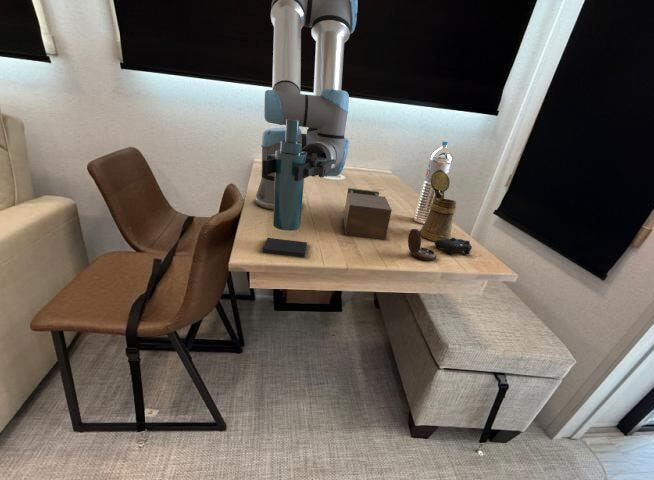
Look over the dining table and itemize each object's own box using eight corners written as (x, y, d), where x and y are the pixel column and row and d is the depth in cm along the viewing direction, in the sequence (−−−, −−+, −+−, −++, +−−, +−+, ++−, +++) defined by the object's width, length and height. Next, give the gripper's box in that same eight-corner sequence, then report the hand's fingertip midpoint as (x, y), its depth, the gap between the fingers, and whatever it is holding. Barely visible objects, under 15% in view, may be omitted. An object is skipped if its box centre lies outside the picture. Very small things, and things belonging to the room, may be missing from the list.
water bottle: (428, 226, 108) (453, 144, 95) (409, 220, 112) (431, 140, 98) (436, 222, 113) (460, 143, 100) (417, 216, 117) (438, 139, 103)
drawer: (344, 204, 117) (347, 184, 113) (373, 207, 117) (377, 188, 113) (346, 219, 102) (349, 197, 99) (379, 223, 103) (383, 201, 99)
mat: (267, 241, 83) (267, 237, 83) (306, 245, 83) (307, 242, 83) (262, 252, 77) (262, 248, 77) (304, 257, 78) (304, 253, 77)
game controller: (461, 242, 96) (475, 234, 90) (464, 259, 95) (478, 252, 89) (432, 241, 94) (444, 233, 88) (435, 259, 93) (447, 252, 87)
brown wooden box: (343, 219, 105) (347, 192, 100) (379, 223, 105) (385, 196, 101) (344, 234, 93) (349, 204, 89) (385, 239, 94) (391, 209, 89)
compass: (440, 261, 84) (449, 235, 80) (411, 260, 83) (419, 233, 79) (426, 248, 91) (434, 223, 87) (400, 247, 89) (406, 222, 86)
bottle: (275, 219, 80) (279, 117, 68) (301, 222, 80) (309, 121, 68) (271, 228, 74) (274, 118, 63) (299, 232, 74) (307, 123, 63)
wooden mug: (436, 227, 109) (454, 170, 99) (454, 243, 97) (476, 180, 88) (411, 225, 107) (426, 167, 98) (426, 241, 96) (446, 177, 86)
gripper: (351, 179, 85) (323, 198, 66) (283, 167, 89) (238, 181, 70) (356, 148, 81) (327, 158, 62) (284, 137, 85) (237, 143, 66)
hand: (280, 170), depth 66 cm, fingers closed on bottle, 6 cm apart
